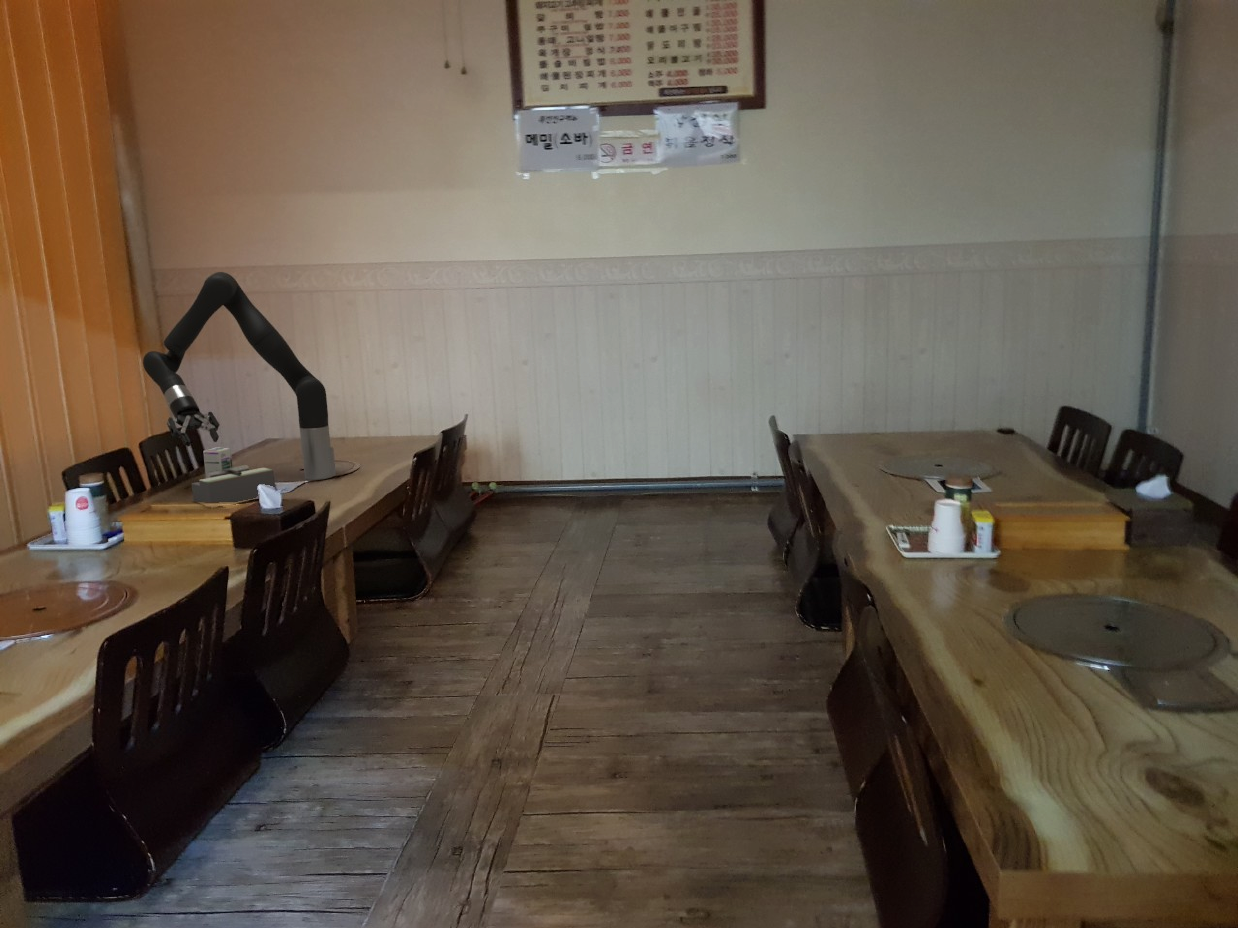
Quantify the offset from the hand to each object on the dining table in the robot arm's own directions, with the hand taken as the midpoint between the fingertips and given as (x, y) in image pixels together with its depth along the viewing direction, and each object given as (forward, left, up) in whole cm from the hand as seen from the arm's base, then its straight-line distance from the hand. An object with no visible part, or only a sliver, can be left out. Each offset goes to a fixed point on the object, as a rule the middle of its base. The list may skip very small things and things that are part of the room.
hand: (203, 442), depth 304 cm
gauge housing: (0, +17, -16) cm, 23 cm away
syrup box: (0, +8, -16) cm, 18 cm away
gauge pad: (0, +18, -15) cm, 23 cm away
